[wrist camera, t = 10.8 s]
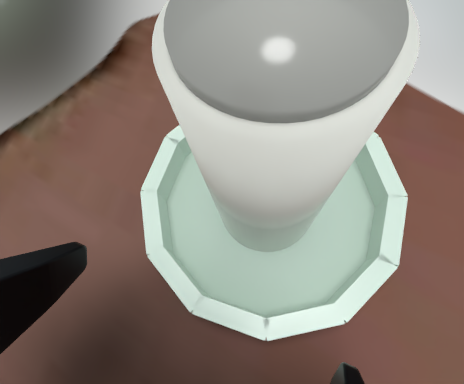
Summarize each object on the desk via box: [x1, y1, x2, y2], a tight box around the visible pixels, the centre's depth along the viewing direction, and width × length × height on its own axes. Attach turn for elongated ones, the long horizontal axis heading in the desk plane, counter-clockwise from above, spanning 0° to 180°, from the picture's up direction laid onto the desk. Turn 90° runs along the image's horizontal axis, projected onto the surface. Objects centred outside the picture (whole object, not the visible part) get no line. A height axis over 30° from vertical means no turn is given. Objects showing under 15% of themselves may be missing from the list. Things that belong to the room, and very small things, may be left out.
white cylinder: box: [152, 0, 420, 252], centre depth 12 cm, size 6×6×13 cm
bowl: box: [140, 125, 408, 341], centre depth 18 cm, size 15×15×3 cm
